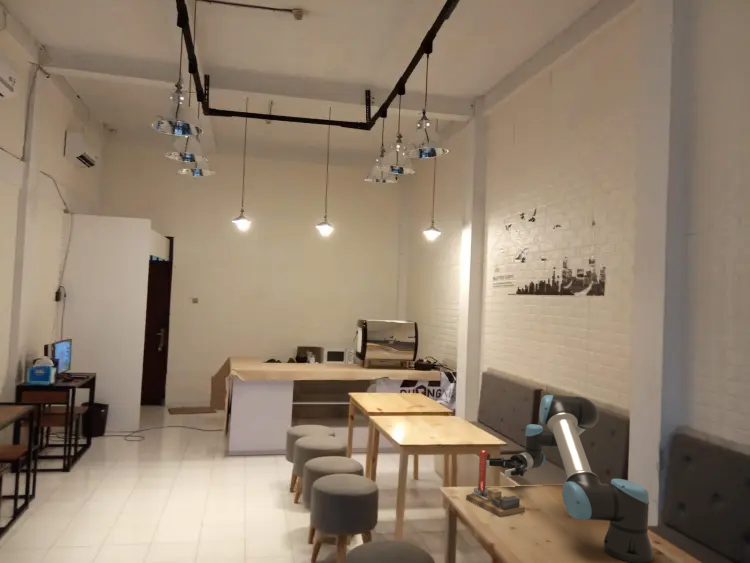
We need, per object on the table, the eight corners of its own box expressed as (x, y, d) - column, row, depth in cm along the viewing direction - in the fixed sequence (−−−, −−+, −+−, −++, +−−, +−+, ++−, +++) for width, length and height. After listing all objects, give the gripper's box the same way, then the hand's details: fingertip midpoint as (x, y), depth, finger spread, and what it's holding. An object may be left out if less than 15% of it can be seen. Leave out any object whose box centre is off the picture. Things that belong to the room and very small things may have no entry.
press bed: (524, 512, 216) (525, 497, 216) (500, 517, 209) (501, 502, 209) (489, 495, 233) (490, 482, 233) (466, 499, 226) (466, 486, 226)
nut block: (501, 501, 221) (501, 491, 221) (493, 502, 219) (494, 492, 219) (494, 497, 224) (494, 488, 224) (486, 499, 222) (487, 489, 222)
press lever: (494, 497, 225) (496, 452, 225) (485, 498, 222) (487, 453, 223) (482, 491, 231) (484, 447, 232) (473, 493, 228) (475, 449, 229)
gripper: (544, 478, 237) (516, 487, 223) (497, 463, 256) (468, 470, 242) (545, 461, 238) (517, 468, 224) (498, 447, 256) (469, 453, 243)
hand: (492, 469), depth 233 cm, fingers open, 13 cm apart
